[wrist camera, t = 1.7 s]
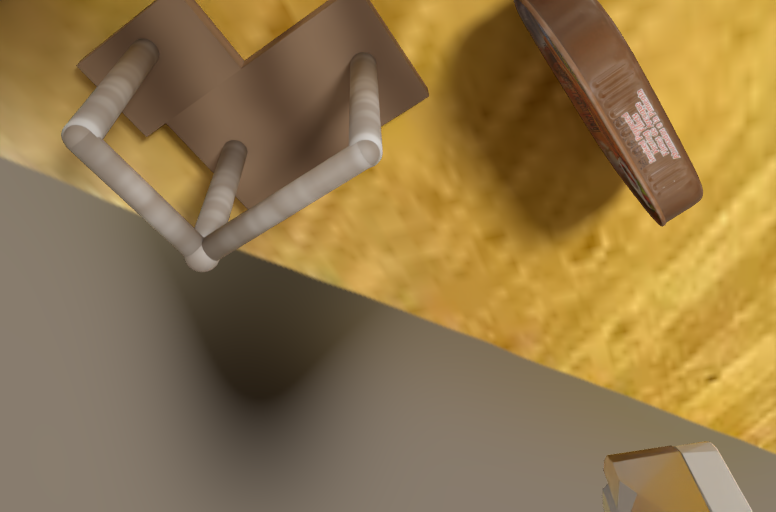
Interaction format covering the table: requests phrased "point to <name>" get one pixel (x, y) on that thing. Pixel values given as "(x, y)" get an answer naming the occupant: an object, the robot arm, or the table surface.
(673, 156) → the tin
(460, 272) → the table surface
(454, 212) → the table surface
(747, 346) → the table surface
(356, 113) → the buzz wire frame
